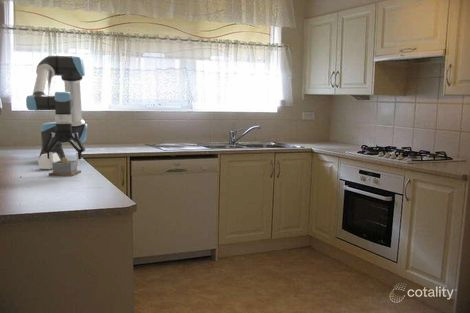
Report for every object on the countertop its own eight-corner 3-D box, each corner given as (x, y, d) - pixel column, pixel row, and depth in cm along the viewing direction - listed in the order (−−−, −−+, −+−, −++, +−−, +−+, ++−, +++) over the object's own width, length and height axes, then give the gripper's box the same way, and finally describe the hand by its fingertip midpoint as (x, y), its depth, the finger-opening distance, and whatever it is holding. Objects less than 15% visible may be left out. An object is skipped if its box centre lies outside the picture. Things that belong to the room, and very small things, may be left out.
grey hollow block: (59, 170, 254) (59, 160, 254) (77, 170, 254) (76, 161, 254) (52, 173, 245) (52, 163, 245) (71, 173, 245) (70, 163, 245)
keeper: (57, 172, 256) (57, 156, 255) (80, 172, 256) (80, 156, 255) (48, 175, 244) (47, 159, 243) (72, 175, 244) (72, 159, 243)
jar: (54, 169, 264) (62, 166, 276) (53, 154, 263) (62, 152, 275) (37, 169, 264) (46, 166, 276) (36, 154, 263) (46, 151, 275)
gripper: (35, 123, 243) (37, 166, 246) (86, 123, 243) (87, 166, 245) (41, 122, 251) (43, 164, 253) (90, 122, 250) (91, 164, 253)
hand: (64, 165), depth 249 cm, fingers open, 13 cm apart
